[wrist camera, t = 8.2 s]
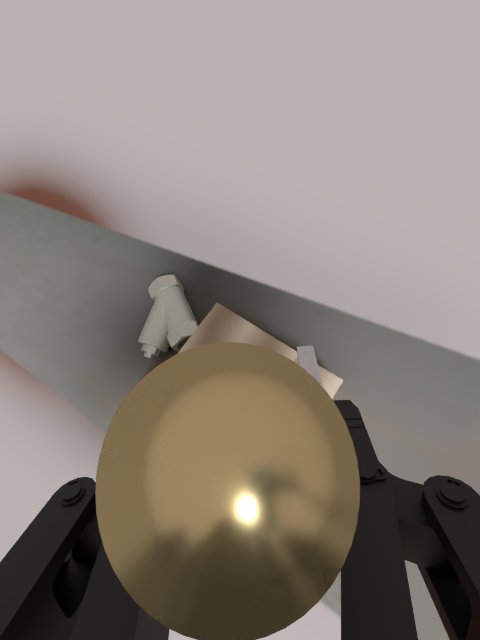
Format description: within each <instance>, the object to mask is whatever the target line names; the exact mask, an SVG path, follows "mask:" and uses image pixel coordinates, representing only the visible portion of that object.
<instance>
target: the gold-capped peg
mask: <svg viewBox="0 0 480 640" xmlns="http://www.w3.org/2000/svg"><path fill="white" fill-rule="evenodd" d="M95 497H96V514H97V520H98V526H99V532H100V535H101V539H102V542H103V546H104V549H105V552H106V554H107V557H108V559H109V561H110V564H111V566H112V568H113V570H114V572H115V573H116V575H117V577H118V579H119V580H120V582H121V584H122V585H123V587H124V588H125V589H126V591H127V592H128V593H129V594H130V596H131V597H132V598H133V599H134V601H135V602H136V603H137V604H138V605H139V606H140V607H141V608H142V609H143V610H144V611H146V612H147V613H148V614H149V615H150V616H151V617H153V618H154V619H155V620H157V621H158V622H160V623H161V624H163V625H164V626H166V627H167V628H169V629H171V630H173V631H176V632H178V633H180V634H182V635H184V636H187V637H191V638H194V639H197V640H256V639H259V638H263V637H267V636H269V635H271V634H273V633H275V632H277V631H280V630H282V629H284V628H286V627H287V626H289V625H290V624H292V623H293V622H295V621H296V620H298V619H299V618H301V617H302V616H304V615H305V614H306V613H307V612H308V611H309V610H310V609H311V608H312V607H313V606H314V605H315V604H317V603H318V602H319V600H320V599H321V598H322V597H323V595H324V594H325V593H326V592H327V590H328V589H329V588H330V587H331V585H332V584H333V582H334V580H335V579H336V577H337V575H338V574H339V572H340V570H341V568H342V567H343V565H344V562H345V560H346V557H347V555H348V552H349V550H350V548H351V545H352V541H353V538H354V534H355V530H356V526H357V521H358V513H359V505H360V478H359V470H358V461H357V457H356V453H355V449H354V445H353V441H352V438H351V436H350V433H349V430H348V428H347V425H346V423H345V421H344V419H343V417H342V415H341V413H340V411H339V409H338V407H337V406H336V404H335V403H334V401H333V400H332V398H331V397H330V396H329V394H328V393H327V391H326V390H325V389H324V388H323V387H322V386H321V385H320V383H319V382H318V381H317V380H316V379H315V378H314V377H313V376H312V375H310V374H309V373H308V372H307V371H306V370H305V369H304V368H302V367H301V366H299V365H298V364H296V363H295V362H294V361H292V360H291V359H289V358H287V357H285V356H283V355H281V354H279V353H277V352H275V351H272V350H269V349H267V348H264V347H261V346H256V345H252V344H247V343H237V342H221V343H212V344H206V345H201V346H198V347H194V348H191V349H188V350H186V351H183V352H181V353H179V354H176V355H174V356H173V357H171V358H169V359H167V360H166V361H164V362H162V363H161V364H160V365H158V366H157V367H156V368H154V369H153V370H152V371H150V372H149V373H148V374H147V375H146V376H145V377H144V378H143V379H142V380H141V381H140V382H138V384H137V385H136V386H135V387H134V388H133V389H132V391H131V392H130V393H129V394H128V395H127V397H126V398H125V400H124V401H123V403H122V404H121V406H120V407H119V409H118V411H117V413H116V415H115V416H114V418H113V420H112V422H111V424H110V427H109V429H108V432H107V434H106V437H105V439H104V443H103V447H102V450H101V453H100V457H99V463H98V469H97V475H96V491H95Z"/></svg>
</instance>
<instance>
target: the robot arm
mask: <svg viewBox="0 0 480 640" xmlns="http://www.w3.org/2000/svg"><path fill="white" fill-rule="evenodd" d="M297 360H298V365H299V366H301V367H302V368H304V369H305V370H306V371H307V372H308V373H309V374H310V375H312V376H313V377H314V378H315V379H316V380H317V381H318V382H319V383H320V385H321V386H322V387H323V385H322V381H321V377H320V373H319V368H318V364H317V360H316V356H315V352H314V348H313V346H297ZM334 403H335V404H336V406H337V407H338V409H339V411H340V413H341V415H342V417H343V419H344V421H345V423H346V425H347V428H348V430H349V433H350V436H351V438H352V441H353V445H354V449H355V453H356V457H357V461H358V470H359V478H360V505H359V513H358V521H357V526H356V530H355V534H354V538H353V541H352V545H351V548H350V550H349V552H348V555H347V557H346V560H345V562H344V565H343V567H342V568H341V640H418V637H417V631H416V625H415V619H414V613H413V608H412V602H411V596H410V590H409V584H408V578H407V573H406V567H405V561H404V560H407V561H409V562H412V563H415V564H417V565H418V568H419V570H420V572H421V575H422V577H423V579H424V582H425V584H426V586H427V588H428V591H429V593H430V595H431V598H432V600H433V602H434V604H435V607H436V609H437V611H438V614H439V616H440V618H441V620H442V623H443V625H444V627H445V630H446V632H447V634H448V636H449V639H450V640H480V496H479V495H478V494H477V493H476V492H475V491H474V490H473V489H472V488H471V487H470V486H469V485H467V484H465V483H464V482H462V481H461V480H458V479H455V478H452V477H449V476H440V475H438V476H433V477H430V478H429V479H427V480H426V481H425V482H424V485H422V484H418V483H414V482H410V481H406V480H403V479H400V478H398V477H396V476H394V475H392V474H390V473H389V472H388V471H387V470H386V469H385V467H384V466H383V465H382V464H381V463H379V461H378V459H377V457H376V454H375V451H374V449H373V446H372V443H371V441H370V438H369V436H368V433H367V430H366V428H365V425H364V422H363V420H362V417H361V414H360V412H359V409H358V408H357V407H356V406H355V405H354V404H353V403H352V402H351V401H350V400H335V401H334ZM95 491H96V483H95V482H94V480H93V479H92V478H88V477H81V478H77V479H74V480H72V481H69V482H68V483H66V484H65V485H63V486H62V487H61V488H60V489H58V491H56V492H55V493H54V495H53V496H52V497H51V499H50V500H49V501H48V502H47V504H46V505H45V506H44V507H43V509H42V510H41V511H40V512H39V514H38V515H37V516H36V517H35V519H34V520H33V521H32V523H31V524H30V525H29V526H28V528H27V529H26V530H25V532H24V533H23V534H22V535H21V537H20V538H19V539H18V541H17V542H16V543H15V544H14V546H13V547H12V548H11V549H10V551H9V552H8V553H7V554H6V556H5V557H4V558H3V559H2V561H1V562H0V640H168V636H169V628H167V627H166V626H164V625H163V624H161V623H160V622H158V621H157V620H155V619H154V618H153V617H151V616H150V615H149V614H148V613H147V612H146V611H144V610H143V609H142V608H141V607H140V606H139V605H138V604H137V603H136V602H135V601H134V599H133V598H132V597H131V596H130V594H129V593H128V592H127V591H126V589H125V588H124V587H123V585H122V584H121V582H120V580H119V579H118V577H117V575H116V573H115V572H114V570H113V568H112V566H111V564H110V561H109V559H108V557H107V554H106V552H105V549H104V546H103V542H102V539H101V535H100V532H99V526H98V520H97V514H96V497H95Z"/></svg>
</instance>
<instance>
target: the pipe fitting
mask: <svg viewBox="0 0 480 640" xmlns="http://www.w3.org/2000/svg"><path fill="white" fill-rule="evenodd" d="M148 291H149V294H150V296H151V298H152V299H153V300H154V301H155V302H154V304H153V306H152V309H151V311H150V313H149V316H148V318H147V320H146V323H145V325H144V327H143V330H142V332H141V334H140V337H139V339H138V342H139V343H140V344H143V346H142V349H141V350H142V351H144V352H145V353H144V357H147V358H150V359H153V356H154V355H155V356H159V354H160V351H162V352H167V351H168V348H169V346H171V348H173V349H174V350H175V351H178V352H179V351H180V350H181V348H182V347H183V346H184V344H185V343H186V342H187V341H188V339H189V338H190V337H191V335H192V334H193V333H194V331H195V330H196V329H197V328H198V326H199V324H198V323H197V321H196V319H195V316H194V314H193V312H192V310H191V308H190V305H189V303H188V301H187V299H186V297H185V295H184V291H185V290H184V288H183V286H182V284H181V282H180V281H179V279H178V278H177V277H176V276H175V275H164V276H160V277H158V278H156V279H155V280H154V281H153V282H152V283H151V285H150V286H149V288H148Z"/></svg>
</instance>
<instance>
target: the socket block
mask: <svg viewBox="0 0 480 640" xmlns="http://www.w3.org/2000/svg"><path fill="white" fill-rule="evenodd" d="M221 342H237V343H247V344H252V345H256V346H261V347H264V348H267V349H269V350H272V351H275V352H277V353H279V354H281V355H283V356H285V357H287V358H289V359H291V360H292V361H294V362H295V363H296V364H298V360H297V351H295V350H293V349H292V348H290V347H289V346H287V345H285V344H284V343H282V342H280V341H279V340H277V339H276V338H274V337H272V336H271V335H269V334H267V333H266V332H264V331H263V330H261V329H259V328H258V327H256V326H255V325H253V324H251V323H250V322H248V321H246V320H245V319H243V318H242V317H240V316H238V315H237V314H235V313H234V312H232V311H230V310H229V309H227V308H225V307H224V306H222V305H221V304H219V303H216V304H215V306H214V307H213V308H212V309H211V311H210V312H209V313H208V315H207V316H206V317H205V318H204V320H203V321H202V322H201V324H200V325H199V326H198V328H197V329H196V330H195V331H194V333H193V334H192V335H191V337H190V338H189V339H188V341H187V342H186V343H185V344H184V346H183V347H182V348H181V350H180V351H179V352H178V353H177V354H179V353H181V352H183V351H186V350H188V349H191V348H194V347H198V346H201V345H206V344H212V343H221ZM318 368H319V373H320V377H321V381H322V385H323V388H324V389H325V390H326V391H327V393H328V394H329V396H330V397H331V398H333V397H334V395H335V393H336V392H337V390H338V388H339V387H340V385H341V384H342V382H343V380H342V379H340V378H339V377H337V376H335V375H334V374H332V373H331V372H329V371H327V370H326V369H324V368H322V367H321V366H319V365H318Z"/></svg>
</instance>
